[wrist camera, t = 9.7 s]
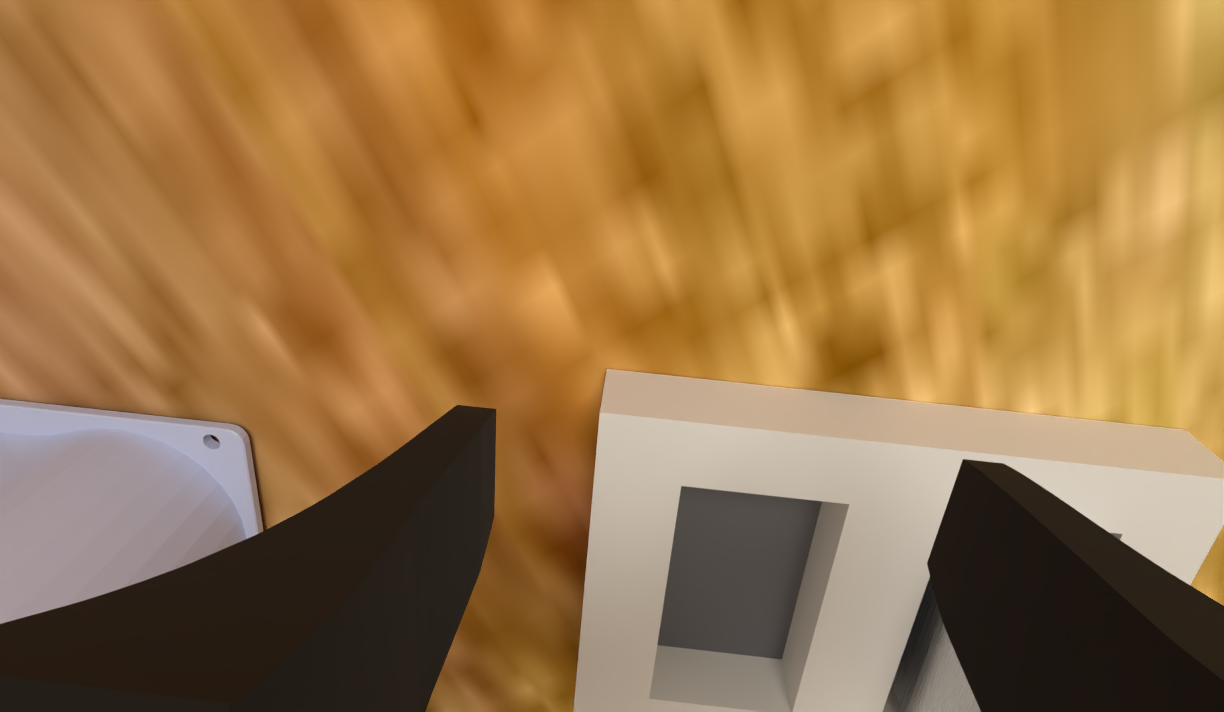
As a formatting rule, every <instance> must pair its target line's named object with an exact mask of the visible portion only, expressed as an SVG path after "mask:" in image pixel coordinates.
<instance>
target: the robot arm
mask: <svg viewBox="0 0 1224 712" xmlns="http://www.w3.org/2000/svg"><path fill="white" fill-rule="evenodd" d="M211 435H213V436H215V437H216V438H218V439H219V442H217V441H215V440H214V439H212V437H211ZM495 441H496V409H490V408H481V407H471V406H462V405H457V406H455V407H454V408H453V409H451V410H450V411H448V412H447V413H446V414H444V415H443V416H442V417H441V418H439V419H438V420H437V421H435V422H434V423H433V424H431V425H430V426H429V427H427V428H426V429H425V430H423V431H422V432H421V433H419V434H418V435H417V436H415V437H414V438H413V439H412V440H410V441H409V442H408V443H406V444H405V445H404V446H402V447H401V448H399V449H398V450H397V451H395V452H394V453H393V454H391V455H390V456H388V457H387V458H386V459H384V460H383V461H381V462H380V463H379V464H377V465H376V466H374V467H373V468H371V469H370V470H368V471H367V472H365V473H363V474H362V475H360V476H359V477H357V478H356V479H354V480H353V481H351V482H350V483H348V484H346V485H345V486H343V487H342V488H340V489H339V490H337V491H336V492H334V493H333V494H331V495H329V496H328V497H326V498H324V499H323V500H321V501H319V502H318V503H316V504H314V505H312V506H310V507H309V508H307V509H305V510H303V511H302V512H300V513H298V514H296V515H294V516H292V517H290V518H288V519H286V520H284V521H282V522H280V523H279V524H277V525H275V526H273V527H271V528H269V529H267V530H265V531H263V524H262V518H261V511H260V505H259V498H258V492H257V485H256V479H255V472H254V466H253V459H252V453H251V446H250V439H249V437H248V434H247V433H246V432H245V431H244V429H242V428H241V427H239V426H237V425H234V424H228V423H219V422H210V421H201V420H191V419H182V418H173V417H164V416H154V415H145V414H136V413H127V412H118V411H108V410H99V409H90V408H81V407H71V406H62V405H53V404H44V403H34V402H25V401H16V400H7V399H0V712H425V711H426V708H427V705H428V702H429V700H430V697H431V694H432V692H433V689H434V687H435V684H436V682H437V679H438V677H439V674H440V672H441V669H442V667H443V664H444V662H445V659H446V657H447V654H448V651H449V649H450V646H451V644H452V641H453V639H454V636H455V634H456V631H457V629H458V626H459V624H460V621H461V619H462V616H463V614H464V611H465V609H466V606H467V604H468V601H469V599H470V596H471V593H472V591H473V588H474V586H475V583H476V581H477V578H478V575H479V573H480V570H481V566H482V562H483V558H484V554H485V551H486V547H487V543H488V539H489V535H490V531H491V527H492V523H493V518H494V499H495ZM927 566H928V570H929V574H930V578H931V582H932V586H933V590H934V594H935V598H936V601H937V604H938V608H939V611H940V615H941V618H942V621H943V624H944V627H945V629H946V632H947V634H948V637H949V639H950V641H951V644H952V646H953V648H954V651H955V653H956V655H957V658H958V660H959V662H960V665H961V667H962V669H963V672H964V674H965V676H966V679H967V681H968V683H969V685H970V688H971V690H972V692H973V695H974V697H975V699H976V701H977V704H978V706H979V708H980V710H981V712H1224V606H1223V605H1221V604H1219V603H1218V602H1216V601H1214V600H1213V599H1211V598H1209V597H1208V596H1206V595H1205V594H1203V593H1201V592H1200V591H1198V590H1197V589H1195V588H1193V587H1192V586H1190V585H1189V584H1187V583H1185V582H1184V581H1182V580H1181V579H1179V578H1177V577H1176V576H1174V575H1173V574H1171V573H1169V572H1168V571H1166V570H1165V569H1163V568H1161V567H1160V566H1158V565H1157V564H1155V563H1154V562H1152V561H1151V560H1149V559H1148V558H1146V557H1145V556H1143V555H1142V554H1140V553H1139V552H1137V551H1136V550H1134V549H1133V548H1131V547H1130V546H1128V545H1127V544H1125V543H1124V542H1122V541H1121V540H1119V539H1118V538H1116V537H1115V536H1113V535H1112V534H1110V533H1109V532H1107V531H1106V530H1105V529H1103V528H1102V527H1100V526H1099V525H1097V524H1096V523H1094V522H1093V521H1091V520H1090V519H1089V518H1087V517H1086V516H1084V515H1083V514H1081V513H1080V512H1078V511H1077V510H1075V509H1074V508H1073V507H1071V506H1070V505H1068V504H1067V503H1065V502H1064V501H1062V500H1061V499H1059V498H1058V497H1057V496H1055V495H1054V494H1052V493H1051V492H1049V491H1048V490H1046V489H1045V488H1043V487H1042V486H1040V485H1039V484H1037V483H1036V482H1034V481H1032V480H1031V479H1029V478H1028V477H1026V476H1025V475H1023V474H1021V473H1020V472H1018V471H1016V470H1015V469H1013V468H1011V467H1009V466H1007V465H1005V464H1003V463H995V462H985V461H976V460H967V459H963V460H962V463H961V466H960V469H959V472H958V475H957V478H956V481H955V483H954V486H953V489H952V492H951V495H950V498H949V501H948V504H947V507H946V509H945V512H944V515H943V518H942V521H941V524H940V527H939V530H938V533H937V536H936V538H935V541H934V544H933V547H932V550H931V553H930V556H929V559H928V562H927Z"/></svg>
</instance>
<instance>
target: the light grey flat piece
mask: <svg viewBox="0 0 1224 712" xmlns="http://www.w3.org/2000/svg"><path fill="white" fill-rule="evenodd" d="M963 459H967V460H976V461H985V462H995V463H1003V464H1005V465H1007V466H1009V467H1011V468H1013V469H1015V470H1016V471H1018V472H1020V473H1021V474H1023V475H1025V476H1026V477H1028V478H1029V479H1031V480H1032V481H1034V482H1036V483H1037V484H1039V485H1040V486H1042V487H1043V488H1045V489H1046V490H1048V491H1049V492H1051V493H1052V494H1054V495H1055V496H1057V497H1058V498H1059V499H1061V500H1062V501H1064V502H1065V503H1067V504H1068V505H1070V506H1071V507H1073V508H1074V509H1075V510H1077V511H1078V512H1080V513H1081V514H1083V515H1084V516H1086V517H1087V518H1089V519H1090V520H1091V521H1093V522H1094V523H1096V524H1097V525H1099V526H1100V527H1102V528H1103V529H1105V530H1106V531H1107V532H1109V533H1110V534H1112V535H1113V536H1115V537H1116V538H1118V539H1119V540H1121V541H1122V542H1124V543H1125V544H1127V545H1128V546H1130V547H1131V548H1133V549H1134V550H1136V551H1137V552H1139V553H1140V554H1142V555H1143V556H1145V557H1146V558H1148V559H1149V560H1151V561H1152V562H1154V563H1155V564H1157V565H1158V566H1160V567H1161V568H1163V569H1165V570H1166V571H1168V572H1169V573H1171V574H1173V575H1174V576H1176V577H1177V578H1179V579H1181V580H1182V581H1184V582H1185V583H1187V584H1189V585H1190V584H1191V583H1192V581H1193V579H1194V577H1195V575H1196V574H1197V572H1198V570H1199V568H1200V566H1201V565H1202V563H1203V561H1204V559H1205V557H1206V556H1207V554H1208V552H1209V550H1210V548H1211V547H1212V545H1213V543H1214V541H1215V539H1216V537H1217V536H1218V534H1219V532H1220V530H1221V528H1222V527H1223V525H1224V461H1222V460H1221V459H1220V458H1219V457H1218V456H1216V455H1215V454H1214V453H1213V452H1212V451H1210V450H1209V449H1208V448H1207V447H1206V446H1204V445H1203V444H1202V443H1201V442H1200V441H1198V440H1197V439H1196V438H1195V437H1194V436H1192V435H1191V434H1190V433H1189V432H1188V431H1186V430H1184V429H1174V428H1165V427H1155V426H1146V425H1136V424H1127V423H1117V422H1108V421H1098V420H1089V419H1079V418H1070V417H1060V416H1051V415H1041V414H1032V413H1022V412H1013V411H1003V410H994V409H984V408H975V407H965V406H956V405H946V404H937V403H927V402H918V401H908V400H899V399H889V398H880V397H870V396H861V395H851V394H841V393H832V392H822V391H813V390H803V389H794V388H784V387H775V386H765V385H756V384H746V383H737V382H727V381H718V380H708V379H699V378H689V377H680V376H670V375H661V374H651V373H642V372H632V371H623V370H613V369H607V372H606V378H605V384H604V390H603V396H602V402H601V408H600V416H599V427H598V438H597V450H596V461H595V472H594V484H593V495H592V507H591V518H590V529H589V541H588V552H587V563H586V575H585V586H584V597H583V609H582V620H581V631H580V643H579V654H578V666H577V677H576V688H575V700H574V711H573V712H901V709H900V706H899V702H898V699H897V696H896V693H895V690H894V687H893V684H892V683H893V680H894V677H895V674H896V672H897V669H898V666H899V663H900V660H901V657H902V655H903V652H904V649H905V646H906V643H907V640H908V637H909V635H910V632H911V629H912V626H913V623H914V620H915V618H916V615H917V612H918V609H919V606H920V603H921V601H922V598H923V595H924V592H925V589H926V586H927V583H928V581H929V578H930V574H929V570H928V566H927V562H928V559H929V556H930V553H931V550H932V547H933V544H934V541H935V538H936V536H937V533H938V530H939V527H940V524H941V521H942V518H943V515H944V512H945V509H946V507H947V504H948V501H949V498H950V495H951V492H952V489H953V486H954V483H955V481H956V478H957V475H958V472H959V469H960V466H961V463H962V460H963Z"/></svg>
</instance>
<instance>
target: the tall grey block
mask: <svg viewBox="0 0 1224 712" xmlns="http://www.w3.org/2000/svg"><path fill="white" fill-rule="evenodd" d="M892 684H893V687H894V690H895V693H896V696H897V699H898V702H899V706H900V709H901V712H981V710H980V708H979V706H978V704H977V701H976V699H975V697H974V695H973V692H972V690H971V688H970V685H969V683H968V681H967V679H966V676H965V674H964V672H963V669H962V667H961V665H960V662H959V660H958V658H957V655H956V653H955V651H954V648H953V646H952V644H951V641H950V639H949V637H948V634H947V632H946V629H945V627H944V624H943V621H942V618H941V615H940V611H939V608H938V604H937V601H936V598H935V594H934V590H933V586H932V582H931V578H929V581H928V583H927V586H926V589H925V592H924V595H923V598H922V601H921V603H920V606H919V609H918V612H917V615H916V618H915V620H914V623H913V626H912V629H911V632H910V635H909V637H908V640H907V643H906V646H905V649H904V652H903V655H902V657H901V660H900V663H899V666H898V669H897V672H896V674H895V677H894V680H893V683H892Z"/></svg>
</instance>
